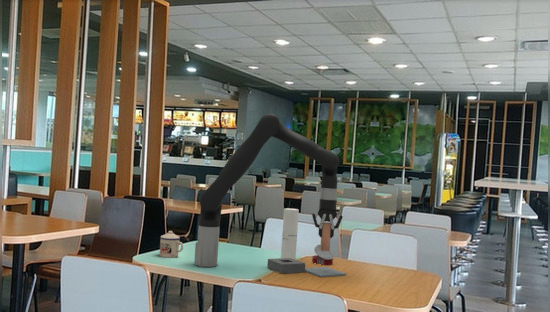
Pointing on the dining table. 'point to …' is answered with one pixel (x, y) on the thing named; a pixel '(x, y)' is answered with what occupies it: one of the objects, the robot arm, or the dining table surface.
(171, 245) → the teacup with lid
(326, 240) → the plug
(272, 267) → the gray square hole block
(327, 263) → the canned food
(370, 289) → the dining table surface
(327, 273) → the mat
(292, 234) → the cylindrical container
